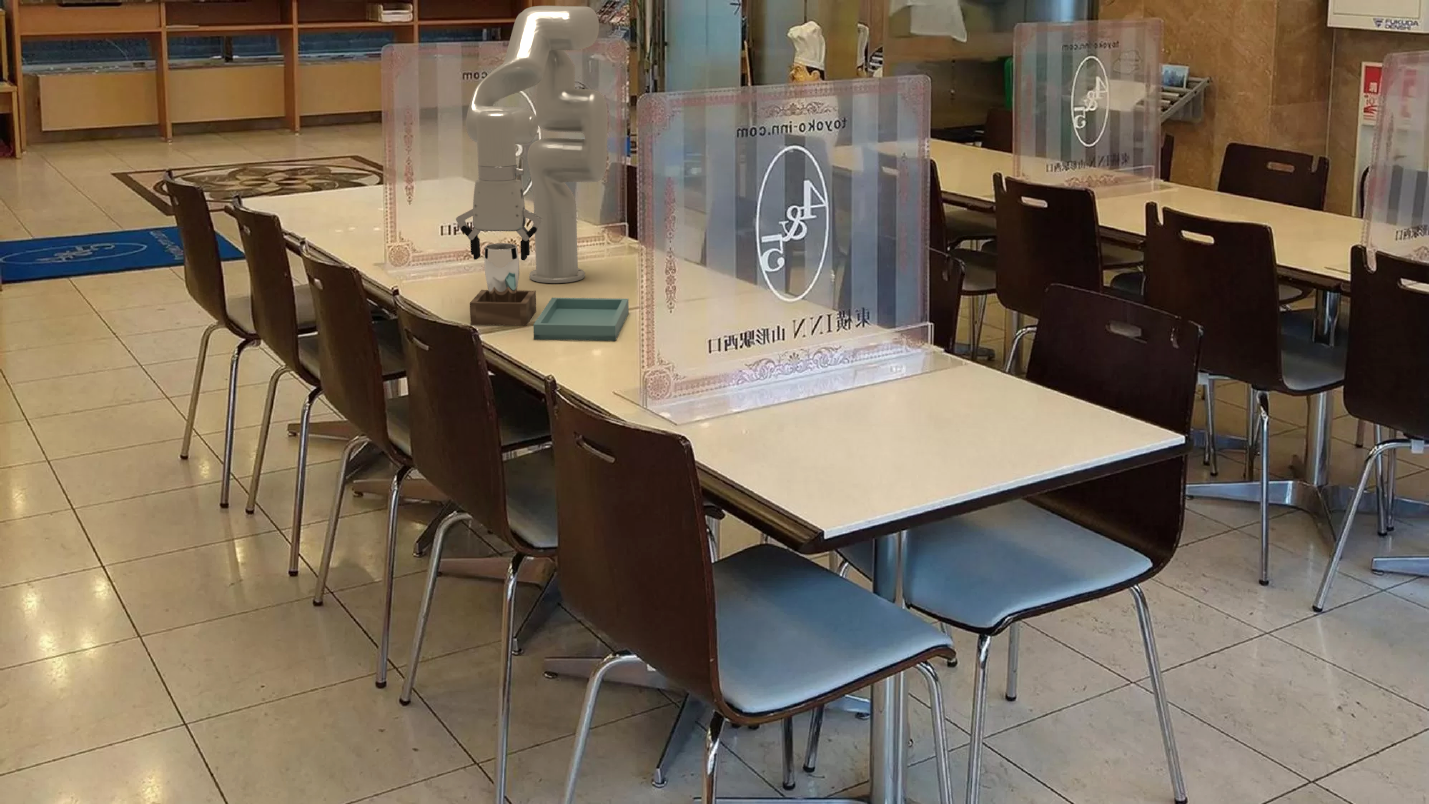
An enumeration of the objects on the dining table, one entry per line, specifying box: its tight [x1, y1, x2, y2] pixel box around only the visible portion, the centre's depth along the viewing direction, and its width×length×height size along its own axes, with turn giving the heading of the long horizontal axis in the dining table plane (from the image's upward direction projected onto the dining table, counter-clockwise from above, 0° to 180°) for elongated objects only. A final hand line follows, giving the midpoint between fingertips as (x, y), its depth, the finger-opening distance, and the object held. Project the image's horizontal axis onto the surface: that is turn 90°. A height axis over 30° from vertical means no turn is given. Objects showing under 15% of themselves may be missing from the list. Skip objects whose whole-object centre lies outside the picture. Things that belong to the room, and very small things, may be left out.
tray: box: [532, 297, 630, 342], centre depth 300 cm, size 22×16×3 cm
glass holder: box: [469, 289, 537, 327], centre depth 306 cm, size 11×11×4 cm
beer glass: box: [483, 242, 520, 302], centre depth 304 cm, size 7×7×15 cm
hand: (500, 258), depth 302 cm, fingers open, 9 cm apart
